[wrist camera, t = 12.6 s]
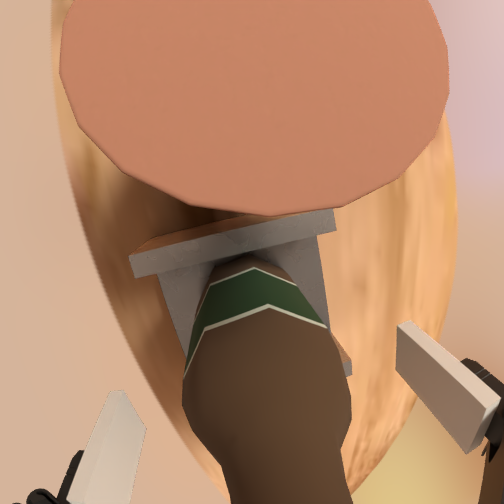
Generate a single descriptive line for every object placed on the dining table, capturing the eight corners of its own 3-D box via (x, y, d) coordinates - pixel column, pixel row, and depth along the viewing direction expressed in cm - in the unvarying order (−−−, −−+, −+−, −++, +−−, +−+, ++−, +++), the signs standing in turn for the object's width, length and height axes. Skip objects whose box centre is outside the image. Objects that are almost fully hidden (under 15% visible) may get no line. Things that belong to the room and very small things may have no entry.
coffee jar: (250, 221, 24) (317, 311, 7) (145, 146, 22) (-5, 81, 5) (325, 121, 23) (484, 41, 5) (224, 49, 21) (232, -119, 3)
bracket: (151, 238, 24) (127, 256, 17) (305, 201, 24) (332, 207, 18) (195, 369, 27) (189, 413, 20) (327, 337, 27) (352, 374, 21)
